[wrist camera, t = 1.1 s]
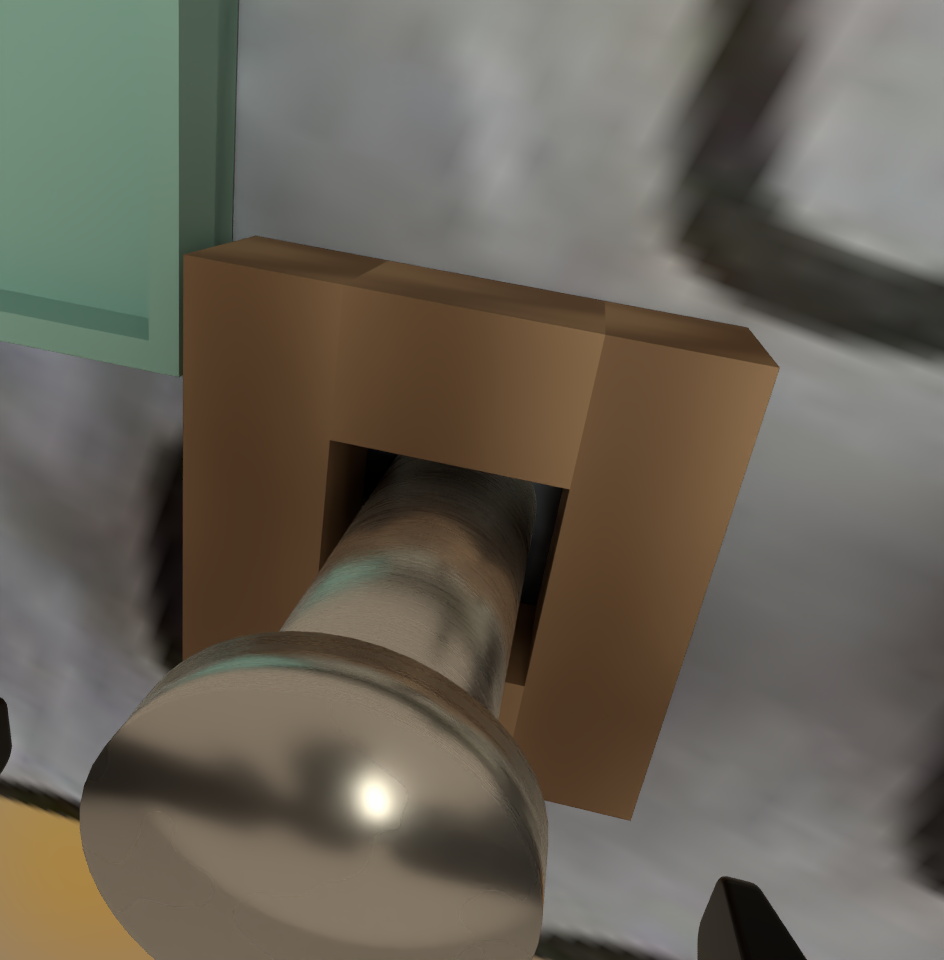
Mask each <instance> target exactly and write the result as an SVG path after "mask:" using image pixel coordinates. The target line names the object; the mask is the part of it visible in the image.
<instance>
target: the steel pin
mask: <svg viewBox="0 0 944 960" xmlns="http://www.w3.org/2000/svg"><path fill="white" fill-rule="evenodd" d="M535 517H536V496H535V490H534V487H533V484H532V482H531V481H526V480H521V479H517V478H512V477H507V476H502V475H497V474H492V473H487V472H483V471H478V470H473V469H468V468H463V467H458V466H454V465H449V464H444V463H439V462H434V461H429V460H425V459H420V458H415V457H410V456H405V455H400V454H398V455H397V457H396V458H395V459H394V461H393V462H392V464H391V465H390V467H389V468H388V470H387V471H386V473H385V474H384V476H383V477H382V479H381V480H380V482H379V483H378V484H377V486H376V487H375V489H374V490H373V492H372V493H371V495H370V496H369V498H368V499H367V501H366V502H365V504H364V505H363V507H362V508H361V510H360V511H359V513H358V514H357V516H356V517H355V519H354V520H353V522H352V523H351V525H350V526H349V528H348V529H347V531H346V532H345V534H344V535H343V537H342V538H341V540H340V541H339V543H338V544H337V546H336V547H335V549H334V550H333V552H332V553H331V555H330V556H329V558H328V559H327V561H326V562H325V564H324V565H323V567H322V568H321V570H320V571H319V573H318V574H317V576H316V577H315V579H314V580H313V582H312V583H311V585H310V586H309V587H308V589H307V590H306V592H305V593H304V595H303V596H302V598H301V599H300V601H299V602H298V604H297V605H296V607H295V608H294V610H293V611H292V613H291V614H290V616H289V617H288V619H287V620H286V622H285V623H284V625H283V626H282V628H281V629H280V631H279V632H265V633H258V634H253V635H247V636H242V637H237V638H233V639H230V640H227V641H224V642H221V643H218V644H215V645H212V646H210V647H208V648H206V649H204V650H202V651H200V652H198V653H196V654H194V655H192V656H190V657H188V658H187V659H186V660H184V661H183V662H181V663H180V664H179V665H177V666H176V667H175V668H173V669H172V670H171V671H169V672H168V673H167V674H166V676H165V677H164V678H163V679H162V680H161V681H160V682H159V683H158V684H157V685H156V686H155V687H154V688H153V689H152V691H151V692H150V693H149V694H148V695H147V697H146V698H145V699H144V700H143V701H142V703H141V704H140V705H139V706H138V707H137V709H136V710H135V711H134V712H133V713H132V715H131V716H130V717H129V718H128V719H127V721H126V722H125V723H124V724H123V725H122V727H121V728H120V729H119V730H118V731H117V733H116V734H115V735H114V736H113V737H112V739H111V740H110V741H109V742H108V743H107V745H106V746H105V747H104V749H103V750H102V752H101V753H100V755H99V756H98V758H97V759H96V761H95V762H94V764H93V765H92V768H91V770H90V773H89V775H88V778H87V780H86V782H85V785H84V789H83V794H82V799H81V804H80V832H81V839H82V846H83V851H84V854H85V857H86V861H87V864H88V867H89V870H90V873H91V875H92V877H93V879H94V881H95V883H96V885H97V888H98V890H99V892H100V894H101V896H102V897H103V899H104V900H105V902H106V903H107V905H108V907H109V908H110V910H111V911H112V913H113V914H114V916H115V917H116V918H117V919H118V921H119V922H120V923H121V924H122V926H123V927H124V928H125V930H126V931H127V932H128V933H129V934H130V935H131V937H132V938H133V939H134V940H135V941H136V942H137V943H138V944H139V945H140V946H141V947H142V948H143V949H144V950H145V951H146V952H147V953H148V954H149V955H151V956H152V957H153V958H154V959H155V960H532V958H533V956H534V953H535V951H536V948H537V946H538V942H539V936H540V931H541V925H542V916H543V904H544V891H545V879H546V866H547V854H548V819H547V814H546V808H545V802H544V798H543V796H542V793H541V790H540V787H539V784H538V781H537V778H536V776H535V774H534V772H533V770H532V768H531V766H530V764H529V763H528V761H527V759H526V757H525V755H524V753H523V752H522V750H521V749H520V748H519V746H518V745H517V743H516V742H515V741H514V739H513V738H512V736H511V735H510V734H509V732H508V731H507V730H506V729H505V728H504V727H503V726H502V724H501V723H500V722H499V721H498V717H499V712H500V706H501V701H502V695H503V690H504V685H505V679H506V674H507V668H508V663H509V658H510V652H511V647H512V641H513V636H514V631H515V625H516V620H517V614H518V609H519V604H520V598H521V593H522V587H523V582H524V577H525V571H526V566H527V560H528V555H529V550H530V544H531V539H532V533H533V528H534V523H535Z"/></svg>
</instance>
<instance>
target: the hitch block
mask: <svg viewBox="0 0 944 960" xmlns="http://www.w3.org/2000/svg"><path fill="white" fill-rule="evenodd" d="M778 372H779V366H778V365H777V364H776V363H775V361H774V360H773V359H772V357H771V356H770V355H769V354H768V352H767V351H766V350H765V349H764V347H763V346H762V345H761V344H760V342H759V341H758V340H757V339H756V337H755V336H754V335H753V333H752V332H751V331H750V330H749V328H746V327H741V326H736V325H730V324H725V323H719V322H714V321H709V320H703V319H698V318H693V317H687V316H682V315H677V314H671V313H666V312H661V311H655V310H650V309H644V308H639V307H634V306H628V305H623V304H618V303H612V302H607V301H602V300H596V299H591V298H586V297H580V296H575V295H570V294H564V293H559V292H553V291H548V290H543V289H537V288H532V287H527V286H521V285H516V284H511V283H505V282H500V281H495V280H489V279H484V278H478V277H473V276H468V275H462V274H457V273H452V272H446V271H441V270H436V269H430V268H425V267H420V266H414V265H409V264H403V263H398V262H393V261H387V260H382V259H377V258H371V257H366V256H361V255H355V254H350V253H345V252H339V251H334V250H328V249H323V248H318V247H312V246H307V245H302V244H296V243H291V242H286V241H280V240H275V239H270V238H264V237H259V236H253V237H249V238H245V239H241V240H238V241H234V242H230V243H226V244H222V245H218V246H214V247H210V248H207V249H203V250H199V251H195V252H191V253H187V254H183V661H184V660H186V659H187V658H188V657H190V656H192V655H194V654H196V653H198V652H200V651H202V650H204V649H206V648H208V647H210V646H212V645H215V644H218V643H221V642H224V641H227V640H230V639H233V638H237V637H242V636H247V635H253V634H258V633H265V632H279V631H280V629H281V628H282V626H283V625H284V623H285V622H286V620H287V619H288V617H289V616H290V614H291V613H292V611H293V610H294V608H295V607H296V605H297V604H298V602H299V601H300V599H301V598H302V596H303V595H304V593H305V592H306V590H307V589H308V587H309V586H310V585H311V583H312V582H313V580H314V579H315V577H316V576H317V574H318V573H319V571H320V570H321V568H322V567H323V565H324V564H325V562H326V561H327V559H328V558H329V556H330V555H331V553H332V552H333V550H334V549H335V547H336V546H337V544H338V543H339V541H340V540H341V538H342V537H343V535H344V534H345V532H346V531H347V529H348V528H349V526H350V525H351V523H352V522H353V520H354V519H355V517H356V516H357V514H358V513H359V511H360V510H361V508H362V500H363V491H364V482H365V473H366V463H367V454H368V448H371V449H376V450H381V451H386V452H391V453H396V454H400V455H405V456H410V457H415V458H420V459H425V460H429V461H434V462H439V463H444V464H449V465H454V466H458V467H463V468H468V469H473V470H478V471H483V472H487V473H492V474H497V475H502V476H507V477H512V478H517V479H521V480H526V481H531V482H536V483H541V484H546V485H550V486H555V487H560V488H563V490H562V495H561V499H560V503H559V508H558V512H557V517H556V521H555V526H554V530H553V534H552V539H551V543H550V548H549V552H548V557H547V561H546V566H545V570H544V574H543V579H542V583H541V588H540V592H539V597H538V601H537V605H536V606H534V605H529V604H525V603H520V604H519V609H518V614H517V620H516V625H515V631H514V636H513V641H512V647H511V652H510V658H509V663H508V668H507V674H506V679H505V685H504V690H503V695H502V701H501V706H500V712H499V717H498V721H499V722H500V723H501V724H502V726H503V727H504V728H505V729H506V730H507V731H508V732H509V734H510V735H511V736H512V738H513V739H514V741H515V742H516V743H517V745H518V746H519V748H520V749H521V750H522V752H523V753H524V755H525V757H526V759H527V761H528V763H529V764H530V766H531V768H532V770H533V772H534V774H535V776H536V778H537V781H538V784H539V787H540V790H541V793H542V796H543V798H544V800H546V801H550V802H554V803H558V804H562V805H567V806H571V807H575V808H579V809H583V810H587V811H592V812H596V813H600V814H604V815H608V816H613V817H617V818H621V819H625V820H629V821H631V818H632V815H633V812H634V809H635V806H636V803H637V799H638V796H639V793H640V790H641V787H642V784H643V781H644V778H645V775H646V772H647V769H648V766H649V763H650V760H651V757H652V754H653V751H654V748H655V745H656V742H657V739H658V736H659V733H660V730H661V727H662V724H663V721H664V718H665V714H666V711H667V708H668V705H669V702H670V699H671V696H672V693H673V690H674V687H675V684H676V681H677V678H678V675H679V672H680V669H681V666H682V663H683V660H684V657H685V654H686V651H687V648H688V645H689V642H690V639H691V636H692V633H693V629H694V626H695V623H696V620H697V617H698V614H699V611H700V608H701V605H702V602H703V599H704V596H705V593H706V590H707V587H708V584H709V581H710V578H711V575H712V572H713V569H714V566H715V563H716V560H717V557H718V554H719V551H720V548H721V545H722V541H723V538H724V535H725V532H726V529H727V526H728V523H729V520H730V517H731V514H732V511H733V508H734V505H735V502H736V499H737V496H738V493H739V490H740V487H741V484H742V481H743V478H744V475H745V472H746V469H747V466H748V463H749V460H750V456H751V453H752V450H753V447H754V444H755V441H756V438H757V435H758V432H759V429H760V426H761V423H762V420H763V417H764V414H765V411H766V408H767V405H768V402H769V399H770V396H771V393H772V390H773V387H774V384H775V381H776V378H777V375H778Z"/></svg>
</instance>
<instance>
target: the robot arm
mask: <svg viewBox="0 0 944 960" xmlns="http://www.w3.org/2000/svg"><path fill="white" fill-rule="evenodd" d="M11 748H12V742H11V733H10V725H9V716H8V708H7V704H6V702H5V701H4V699H3V698H1V697H0V774H1V772H2V771H3V769H4V768H5V766H6V764H7V762H8V760H9V757H10V754H11ZM698 960H807V959H806V958H805V956H804V955H803V953H802V952H801V950H800V949H799V947H798V946H797V944H796V943H795V941H794V940H793V938H792V936H791V935H790V933H789V932H788V930H787V929H786V927H785V926H784V924H783V923H782V921H781V920H780V918H779V917H778V915H777V914H776V912H775V910H774V909H773V907H772V906H771V904H770V903H769V901H768V900H767V898H766V897H765V895H764V894H763V892H762V891H761V889H760V888H759V887H758V886H757V885H755V884H754V883H751V882H748V881H744V880H740V879H736V878H731V877H727V876H723V877H721V878H720V879H719V880H718V881H717V883H716V885H715V887H714V890H713V892H712V895H711V897H710V900H709V902H708V904H707V907H706V909H705V912H704V914H703V917H702V919H701V922H700V926H699V932H698Z"/></svg>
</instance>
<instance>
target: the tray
mask: <svg viewBox="0 0 944 960" xmlns="http://www.w3.org/2000/svg"><path fill="white" fill-rule="evenodd" d="M237 29H238V0H0V341H4V342H9V343H14V344H18V345H23V346H28V347H33V348H38V349H43V350H48V351H53V352H58V353H63V354H68V355H73V356H78V357H82V358H87V359H92V360H97V361H102V362H107V363H112V364H117V365H122V366H127V367H132V368H137V369H141V370H146V371H151V372H156V373H161V374H166V375H171V376H176V377H180V376H182V375H183V254H187V253H191V252H195V251H199V250H203V249H207V248H210V247H214V246H218V245H222V244H226V243H230V242H232V217H233V179H234V142H235V104H236V67H237Z"/></svg>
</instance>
